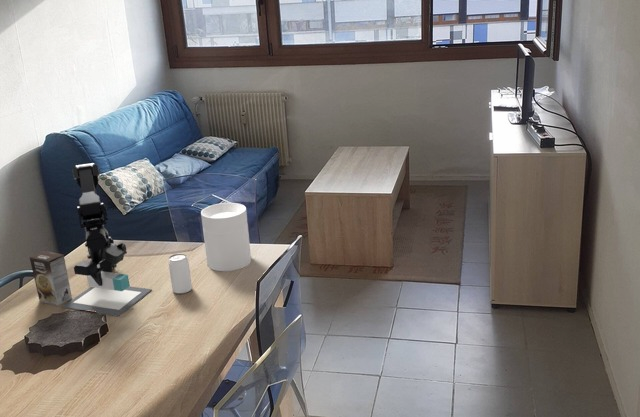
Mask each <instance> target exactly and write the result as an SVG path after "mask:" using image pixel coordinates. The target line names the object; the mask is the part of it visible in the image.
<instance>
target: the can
mask: <svg viewBox="0 0 640 417" xmlns="http://www.w3.org/2000/svg"><path fill="white" fill-rule="evenodd" d="M168 259H169V260H168V269H169V275H170V283H171V288H172V292H173V293H175V294H177V295H183V294H186V293H188V292H190V291H191V290H192V288H193V283H192V278H191V270H190V268H191V267H190V261H189V258H188V257H187V255H186V253H185V254H184V253H175V254H172V255H170V256H169V258H168Z"/></svg>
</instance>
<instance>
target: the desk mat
mask: <svg viewBox="0 0 640 417" xmlns="http://www.w3.org/2000/svg"><path fill="white" fill-rule="evenodd" d="M152 291H153V289H152V288H145V287H137V286H129V287H127V288H126V289H125V290H123V291H116V290H109V289H102V288H95V287H89V288H87V289H86V290H84V291H83V292H81V293H79V294H78V295H77V296H76V297H74V298H72V299H70V300H68V301H67V302H65V303H64V305H63V304H62V306H61V308H62V309H68V310H73V311H74V310H75V311H80V310H95V311H96V312H97V313H96V314H99V313H100V315H107V316H114V317H120V316H121V315H123V314H124V313H125V312H126V311H128V310H129V309H130V308H132V307H133V306H134V305H135V304H136V303H137V304H138V302H140V300H142V299H143V298H144V297H146V296H147V295H148V294H149V293H150V292H152Z"/></svg>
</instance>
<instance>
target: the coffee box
mask: <svg viewBox="0 0 640 417" xmlns="http://www.w3.org/2000/svg"><path fill="white" fill-rule="evenodd" d="M29 261H30V265H31V271H32V274H33V278H34V284H35V288H36V291H37V292H36V293H37V297H38V301H39V302H42V303H44V304H45V303H46V304H49V305H52V306H56V307H59V306H61V305H63V304H66V303H67V302H69V301H71V300H72V299H73V294H72V292H71V285H70V281H69V275H68V271H67V264H66V259H65V254H62V253H59V252H54V251H49V250H43V251H41V252H38V253H35V254H33V255H31V256H29Z"/></svg>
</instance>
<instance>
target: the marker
mask: <svg viewBox="0 0 640 417" xmlns="http://www.w3.org/2000/svg"><path fill="white" fill-rule="evenodd" d="M101 276H102V286H99V285H98V284H97V283H96V282H95V280H94V279H93V278H92V277H91V276H90V275H89V276H86V278H87V284H88V287H89V288H90V287H95V288H102V289H109V290H116V291H123V290H125V289H126V288H127V287H129V286H130V279H129V274H127V273H117V272H112V273H111V272H103V271H101Z"/></svg>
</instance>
